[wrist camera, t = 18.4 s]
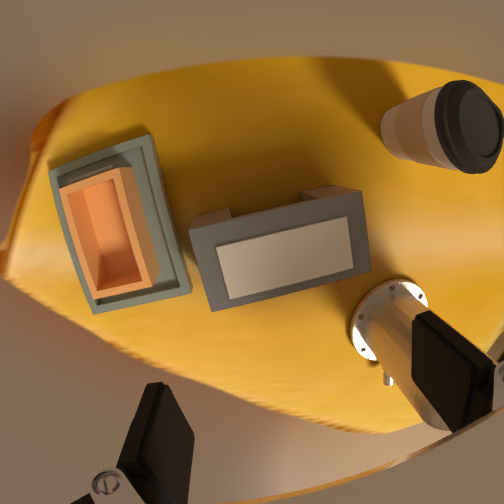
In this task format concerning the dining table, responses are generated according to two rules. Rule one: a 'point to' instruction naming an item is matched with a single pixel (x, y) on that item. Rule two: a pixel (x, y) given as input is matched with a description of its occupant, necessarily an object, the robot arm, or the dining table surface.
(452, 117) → the coffee cup
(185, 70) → the dining table surface
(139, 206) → the orange drawer
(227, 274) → the bay housing
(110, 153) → the tray
